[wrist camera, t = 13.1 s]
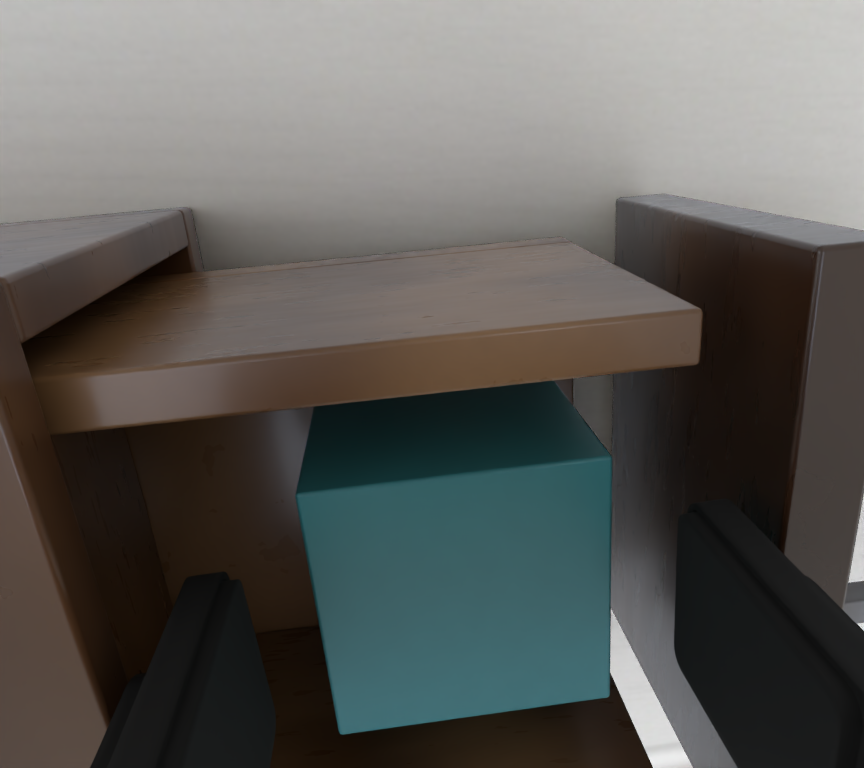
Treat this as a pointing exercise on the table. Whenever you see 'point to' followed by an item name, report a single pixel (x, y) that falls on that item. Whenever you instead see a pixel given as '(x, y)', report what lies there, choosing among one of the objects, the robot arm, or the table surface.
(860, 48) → the table surface
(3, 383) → the cabinet
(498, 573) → the block
